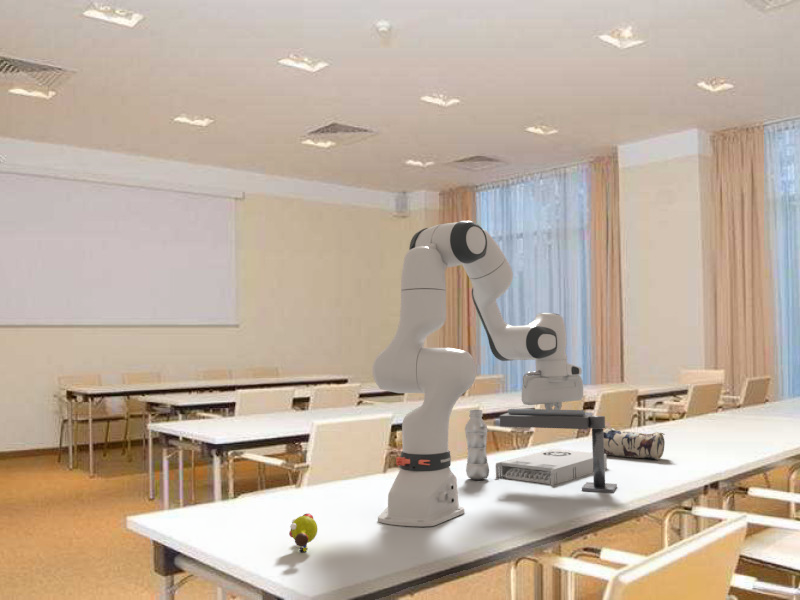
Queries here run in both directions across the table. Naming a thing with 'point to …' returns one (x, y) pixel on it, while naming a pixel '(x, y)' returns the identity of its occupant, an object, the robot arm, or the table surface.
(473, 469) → the plastic bottle
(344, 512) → the table surface
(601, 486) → the post
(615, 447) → the pencil case
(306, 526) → the toy figure
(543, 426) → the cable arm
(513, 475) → the power supply unit
